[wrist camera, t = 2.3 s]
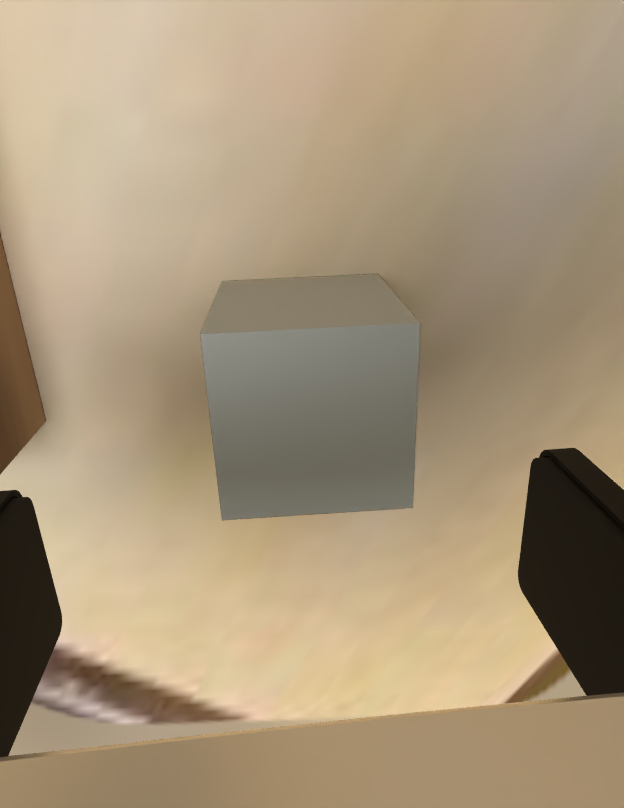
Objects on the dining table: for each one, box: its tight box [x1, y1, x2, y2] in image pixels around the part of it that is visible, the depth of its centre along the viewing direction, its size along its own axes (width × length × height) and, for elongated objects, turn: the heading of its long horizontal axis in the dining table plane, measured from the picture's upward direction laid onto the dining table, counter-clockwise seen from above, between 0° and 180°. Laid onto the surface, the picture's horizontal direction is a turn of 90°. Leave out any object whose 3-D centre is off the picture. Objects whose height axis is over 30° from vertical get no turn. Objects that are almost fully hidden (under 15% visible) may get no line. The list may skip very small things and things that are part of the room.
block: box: [200, 274, 420, 520], centre depth 17 cm, size 5×5×6 cm
